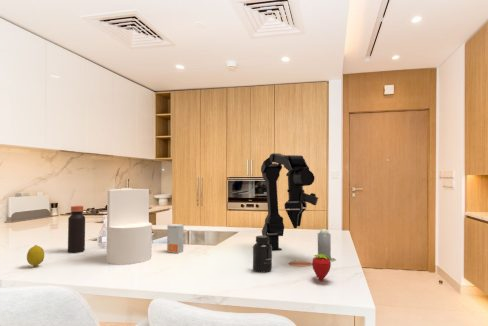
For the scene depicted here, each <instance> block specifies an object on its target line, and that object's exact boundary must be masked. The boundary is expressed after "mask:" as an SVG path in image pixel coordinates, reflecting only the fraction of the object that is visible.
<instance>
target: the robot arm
mask: <svg viewBox="0 0 488 326" xmlns="http://www.w3.org/2000/svg"><path fill="white" fill-rule="evenodd" d="M282 165H283V166H282ZM283 168H284V169H286V170H287V171H288V172H287V173H286V174H285V176H286V177H287V189H286V190H287V193H288V200H287V201H286V202H284V209H285V212H286V214H287V216H288V218H289V220H290V223H291V226H292V227H293V229H297V228H298V227H301V223H302V218H303V213H304V212H305V211H306V210H307V206H308V204H310V205H312V206H317V203H318V201H319V197H318V196H317V195H316V193H314V192H311V193H310V194H309V193H305V190H304V187H307V186H311V185H312V184H313V183H314V182H315V176H314V175H315V174H314V173H313V172H312V170H310V167H309V165H308V164H307V161H306V159H305V158H304V156H303V155H300V154H299V155H290V154H287V155H286V154H282V153H278V152H277V153H275V152H274V153H270V154H269V157H268V158H266V159H265V160H263V162H262V163H261V167H260V172H261V175H262V179H263V180H264V181H265V184H266V201H267V215H266V218H265V219H264V225H263V227H262V229H261V236H269V244H270V245H271V246H272V252H273V251H275V252H276V251H282V248H280V246H279V245H280V240H279V237H283V236H284V231H285V224H284V217H283V216H281V214H280V213H279V202H278V201H279V200H278V186H277V181H278V179H280V173H281V171H282V169H283Z"/></svg>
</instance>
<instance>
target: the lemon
mask: <svg viewBox="0 0 488 326" xmlns="http://www.w3.org/2000/svg"><path fill="white" fill-rule="evenodd" d="M44 259H45V251H44V249H43V247H41V246H40V245H37V244H35V245H34V246H31V247H30V248H29V250H28V251H27V254H26V260H27V263H28V264H29V265H31V266H33V267H34V268H36V267H38V266H39V265H40V264H42V262H43V261H44Z"/></svg>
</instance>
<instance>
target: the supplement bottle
mask: <svg viewBox="0 0 488 326" xmlns="http://www.w3.org/2000/svg"><path fill="white" fill-rule="evenodd" d="M255 242H256V243H254V244H253V246H252V270H253V271H254V272H256V273H269V272H271V271H272V269H273V268H272V267H273V251H272V246H271V245H270V244H269V236H263V235H256V236H255Z"/></svg>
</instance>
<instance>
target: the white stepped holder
mask: <svg viewBox="0 0 488 326" xmlns="http://www.w3.org/2000/svg"><path fill="white" fill-rule="evenodd" d="M106 195H107V196H106V197H107V205H106V207H107V209H106V210H107V211H106V213H107V215H106V263H108V264H111V265H119V266H120V265H121V266H122V265H126V266H127V265H135V264H136V265H137V264H141V263H145V262H149V260H152V258H151V257H152V256H153V255H152V254H153V253H152V252H153V251H152V245H153V243H152V241H153V240H152V239H153V232H152V231H153V223H152V222H150V219H149V217H150V212H149V211H150V188H121V189H118V188H117V189H115V188H114V189H108V190H107V194H106Z"/></svg>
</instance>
